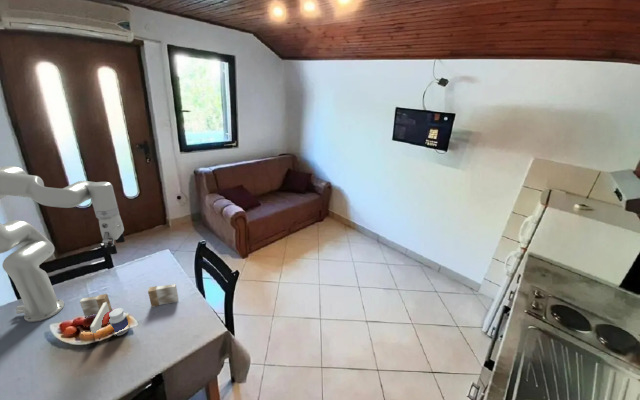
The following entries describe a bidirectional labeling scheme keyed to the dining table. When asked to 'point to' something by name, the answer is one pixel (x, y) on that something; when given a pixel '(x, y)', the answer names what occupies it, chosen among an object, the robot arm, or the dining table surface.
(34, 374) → the dining table surface
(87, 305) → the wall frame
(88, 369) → the dining table surface
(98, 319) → the white rectangular slab
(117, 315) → the pill bottle
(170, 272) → the dining table surface
